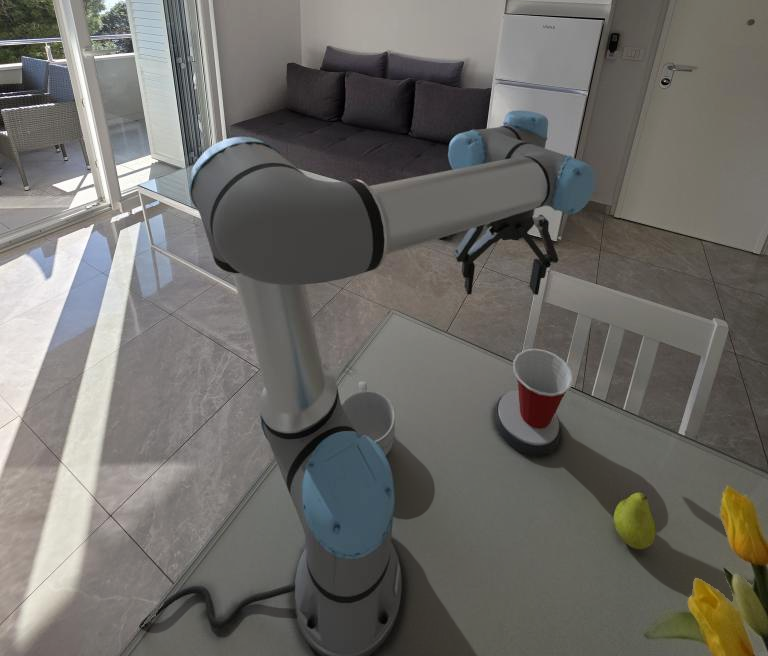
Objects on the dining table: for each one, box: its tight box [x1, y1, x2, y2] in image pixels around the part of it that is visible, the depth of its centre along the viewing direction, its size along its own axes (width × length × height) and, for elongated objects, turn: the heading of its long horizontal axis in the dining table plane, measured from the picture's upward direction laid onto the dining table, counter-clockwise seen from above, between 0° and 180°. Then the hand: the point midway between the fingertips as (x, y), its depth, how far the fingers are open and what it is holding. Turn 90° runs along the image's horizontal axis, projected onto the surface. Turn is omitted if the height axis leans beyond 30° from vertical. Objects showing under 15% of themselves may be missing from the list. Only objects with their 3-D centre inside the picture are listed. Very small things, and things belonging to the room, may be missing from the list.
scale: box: [494, 389, 562, 457], centre depth 86 cm, size 12×12×3 cm
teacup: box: [341, 381, 396, 457], centre depth 82 cm, size 14×11×8 cm
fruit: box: [613, 492, 656, 550], centre depth 67 cm, size 6×6×12 cm
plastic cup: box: [512, 348, 574, 429], centre depth 84 cm, size 11×11×12 cm
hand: (500, 290), depth 86 cm, fingers open, 13 cm apart
